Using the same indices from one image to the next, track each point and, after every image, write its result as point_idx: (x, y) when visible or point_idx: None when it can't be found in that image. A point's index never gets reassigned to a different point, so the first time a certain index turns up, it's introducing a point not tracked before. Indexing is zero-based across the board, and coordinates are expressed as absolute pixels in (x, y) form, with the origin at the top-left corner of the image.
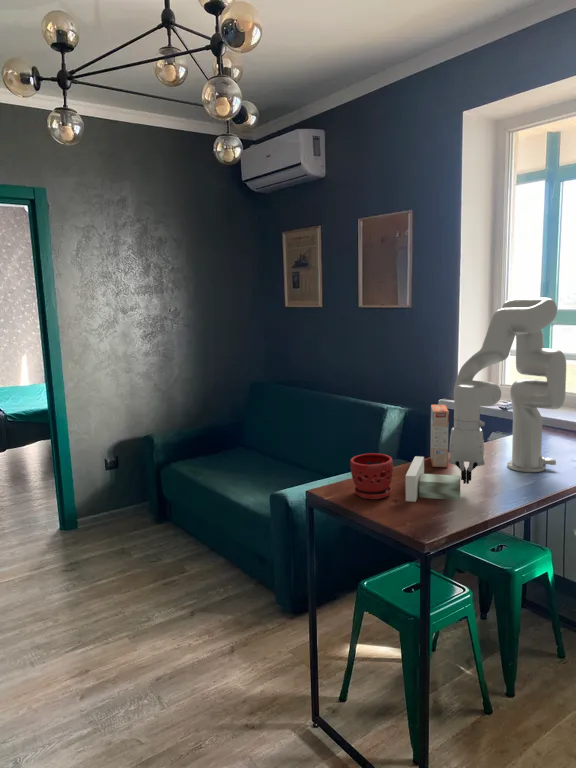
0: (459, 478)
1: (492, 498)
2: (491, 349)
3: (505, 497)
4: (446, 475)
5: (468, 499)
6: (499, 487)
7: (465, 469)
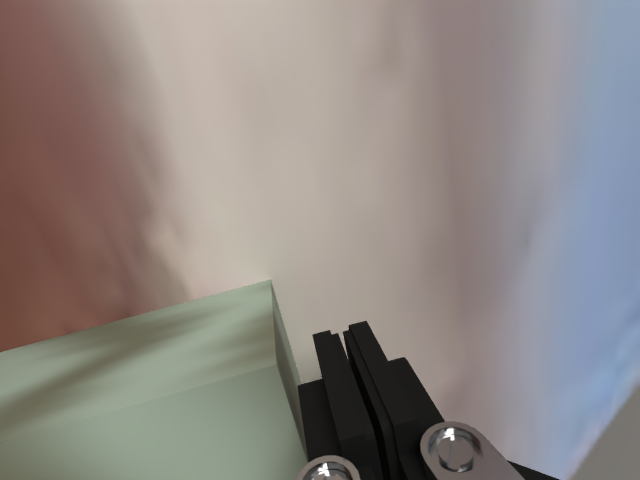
0: (295, 453)
1: (511, 313)
2: None
3: (592, 254)
4: (112, 432)
5: None
6: (561, 16)
7: (370, 463)
